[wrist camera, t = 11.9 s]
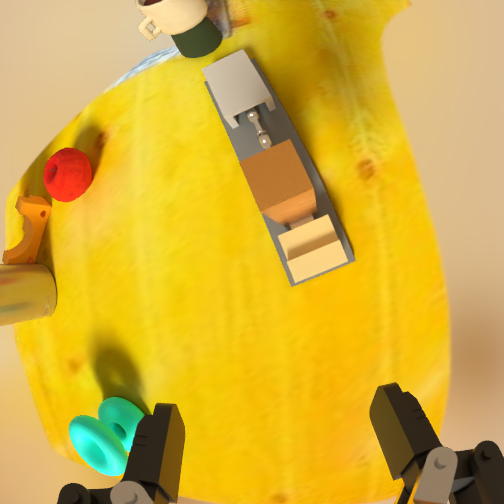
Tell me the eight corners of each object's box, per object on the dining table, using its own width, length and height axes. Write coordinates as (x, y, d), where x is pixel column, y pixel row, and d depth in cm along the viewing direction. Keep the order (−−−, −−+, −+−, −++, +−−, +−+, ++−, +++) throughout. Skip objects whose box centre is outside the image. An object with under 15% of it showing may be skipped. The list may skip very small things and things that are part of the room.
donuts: (113, 440, 25) (125, 489, 25) (154, 406, 35) (159, 455, 35) (58, 408, 27) (73, 459, 28) (102, 385, 37) (110, 433, 37)
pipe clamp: (42, 196, 40) (15, 192, 34) (52, 206, 40) (23, 202, 33) (25, 255, 42) (-1, 255, 36) (34, 267, 41) (7, 268, 35)
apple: (107, 150, 36) (72, 136, 29) (99, 203, 36) (61, 196, 29) (73, 157, 38) (40, 147, 31) (66, 205, 38) (31, 200, 31)
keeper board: (207, 85, 32) (191, 65, 28) (255, 62, 31) (245, 39, 26) (292, 285, 30) (286, 292, 25) (354, 260, 29) (360, 262, 24)
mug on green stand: (208, 17, 33) (173, -37, 20) (243, 27, 31) (213, -36, 19) (163, 65, 34) (113, 17, 22) (195, 79, 33) (146, 23, 20)
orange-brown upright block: (235, 115, 30) (191, 56, 19) (263, 102, 29) (231, 36, 18) (296, 253, 29) (277, 254, 17) (328, 239, 28) (332, 231, 16)
